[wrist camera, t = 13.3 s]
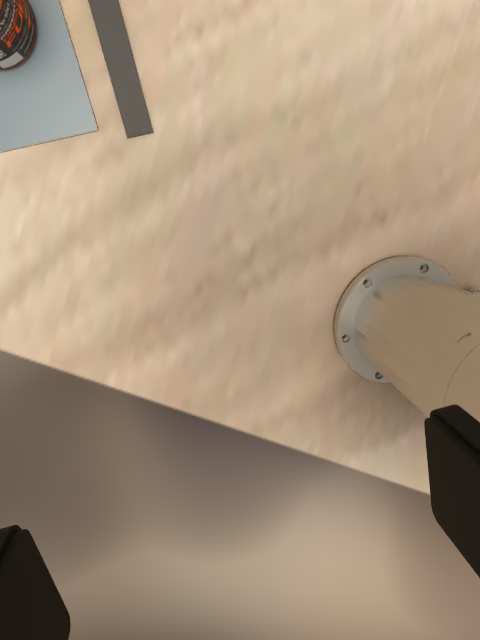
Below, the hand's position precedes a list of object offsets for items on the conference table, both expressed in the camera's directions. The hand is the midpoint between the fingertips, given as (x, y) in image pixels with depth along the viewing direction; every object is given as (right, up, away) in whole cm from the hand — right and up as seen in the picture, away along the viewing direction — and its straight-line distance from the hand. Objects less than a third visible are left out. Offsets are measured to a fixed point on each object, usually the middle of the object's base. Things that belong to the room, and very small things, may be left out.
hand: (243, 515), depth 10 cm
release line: (-10, +27, +22) cm, 36 cm away
